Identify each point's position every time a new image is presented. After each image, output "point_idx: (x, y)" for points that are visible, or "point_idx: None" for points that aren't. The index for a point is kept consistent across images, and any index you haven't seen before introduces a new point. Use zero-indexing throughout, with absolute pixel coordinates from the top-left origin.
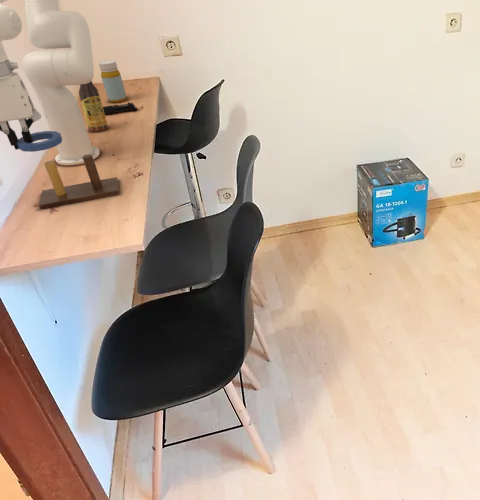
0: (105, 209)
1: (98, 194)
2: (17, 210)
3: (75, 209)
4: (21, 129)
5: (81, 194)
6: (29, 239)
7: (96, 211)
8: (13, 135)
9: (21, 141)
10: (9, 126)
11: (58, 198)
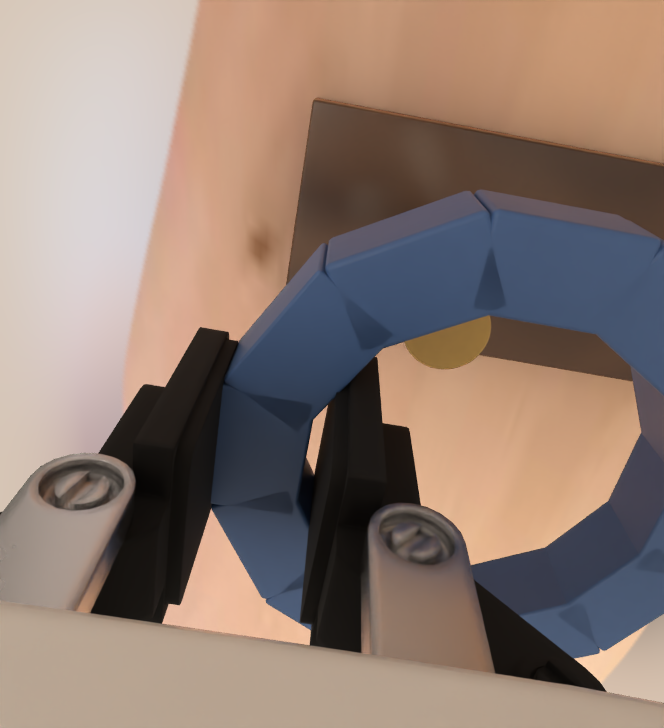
0: (560, 490)
1: (593, 373)
2: (162, 246)
3: (441, 413)
4: (316, 639)
5: (515, 324)
6: (227, 552)
7: (519, 486)
8: (184, 577)
9: (270, 487)
10: (115, 561)
11: None
